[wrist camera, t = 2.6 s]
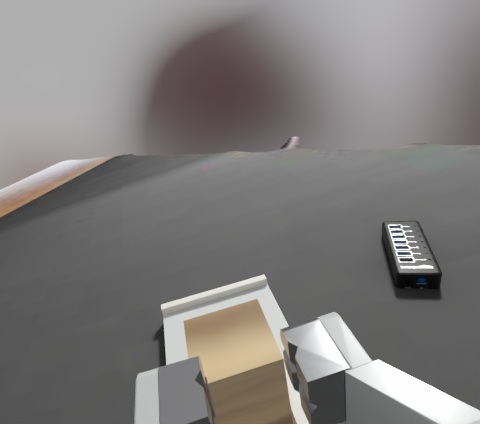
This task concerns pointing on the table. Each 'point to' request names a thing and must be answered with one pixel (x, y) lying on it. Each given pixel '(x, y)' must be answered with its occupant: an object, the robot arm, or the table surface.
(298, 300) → the table surface
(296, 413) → the channel
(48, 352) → the table surface
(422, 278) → the multiport hub
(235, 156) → the table surface
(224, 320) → the block
